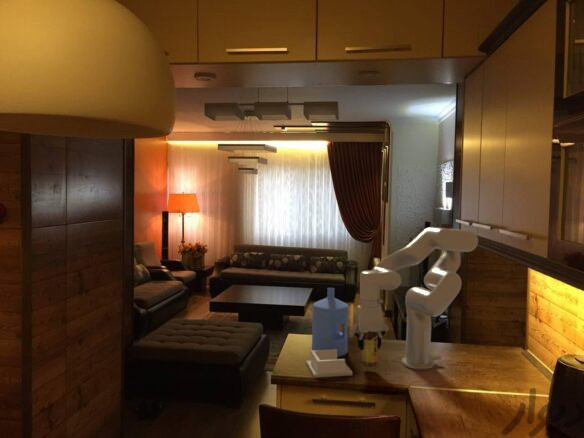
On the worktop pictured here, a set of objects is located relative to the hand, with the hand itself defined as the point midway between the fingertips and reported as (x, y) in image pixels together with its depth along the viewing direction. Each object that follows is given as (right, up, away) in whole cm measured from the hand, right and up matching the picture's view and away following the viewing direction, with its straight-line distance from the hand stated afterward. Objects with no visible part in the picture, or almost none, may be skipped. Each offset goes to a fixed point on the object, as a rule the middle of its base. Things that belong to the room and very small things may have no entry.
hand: (369, 347), depth 178 cm
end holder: (-16, -9, +2) cm, 18 cm away
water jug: (-14, -8, +21) cm, 27 cm away
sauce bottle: (0, -7, +1) cm, 7 cm away
